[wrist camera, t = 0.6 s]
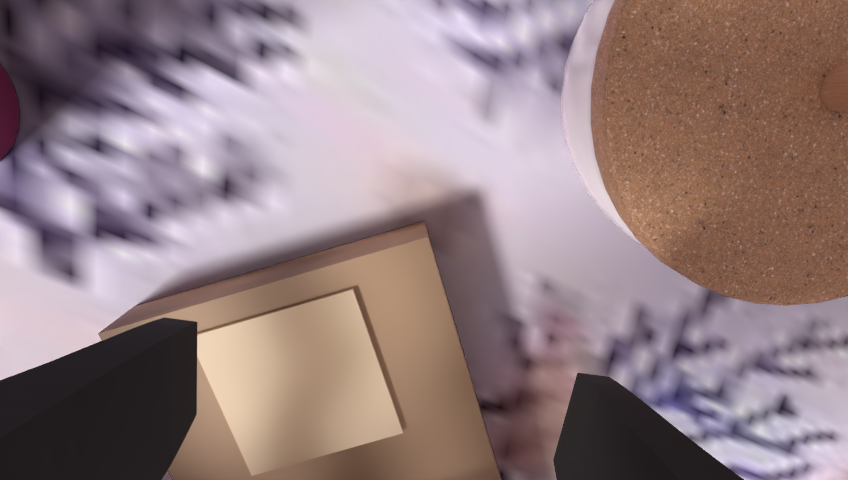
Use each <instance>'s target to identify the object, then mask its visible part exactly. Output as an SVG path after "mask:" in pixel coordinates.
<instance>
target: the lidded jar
mask: <svg viewBox="0 0 848 480" xmlns="http://www.w3.org/2000/svg"><path fill="white" fill-rule="evenodd" d="M561 118H562V125H563V131H564V138H565V143H566V146H567V149H568V152H569V155H570V158H571V161H572V164H573V166H574V168H575V169H576V171H577V173H578V175H579V177H580V179H581V181H582V183H583V185H584V187H585V188H586V190H587V192H588V193H589V194H590V196H591V197H592V198H593V200H594V201H595V202H596V204H597V205H598V206H599V208H600V209H601V210H602V211H603V212H604V213H605V214H606V215H607V216H608V217H609V218H610V219H611V220H612V221H613V222H614V223H615V224H616V225H617V226H618V227H619V228H620V229H621V230H623V231H624V232H625V233H626V234H627V235H628V236H629V237H631V238H632V239H633V240H635V241H636V242H638V243H639V244H641V245H642V246H644V247H645V248H647V249H648V250H649V251H650V252H651V253H652V254H653V255H654V256H655V257H657V258H658V259H659V260H660V261H661V262H663V263H664V264H666V265H667V266H669V267H670V268H672V269H674V270H675V271H677V272H678V273H680V274H681V275H683V276H685V277H686V278H688V279H689V280H691V281H692V282H694V283H696V284H698V285H700V286H702V287H705V288H707V289H710V290H712V291H714V292H717V293H719V294H722V295H724V296H726V297H731V298H735V299H740V300H744V301H748V302H753V303H760V304H775V305H796V304H808V303H819V302H823V301H827V300H832V299H836V298H840V297H845V296H848V0H594V1H593V2H592V4H591V5H590V7H589V9H588V11H587V12H586V14H585V16H584V18H583V20H582V22H581V24H580V27H579V29H578V31H577V33H576V35H575V37H574V40H573V42H572V45H571V49H570V52H569V55H568V59H567V62H566V65H565V71H564V77H563V84H562V91H561Z"/></svg>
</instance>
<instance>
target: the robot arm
mask: <svg viewBox="0 0 848 480" xmlns="http://www.w3.org/2000/svg"><path fill="white" fill-rule="evenodd" d="M196 415H197V322H195V321H188V320H180V319H173V318H165V317H164V318H161V319H157V320H154V321H151V322H148V323H146V324H143V325H140V326H138V327H135V328H132V329H130V330H127V331H125V332H122V333H120V334H117V335H115V336H113V337H110V338H108V339H105V340H103V341H100V342H98V343H96V344H93V345H91V346H88V347H86V348H83V349H81V350H78V351H76V352H73V353H71V354H68V355H66V356H64V357H61V358H59V359H56V360H54V361H51V362H49V363H46V364H43V365H41V366H38V367H35V368H33V369H30V370H27V371H25V372H22V373H19V374H16V375H14V376H11V377H8V378H6V379H3V380H0V480H161V479H162V478H163V476H164V475H165V473H166V472H167V470H168V469H169V467H170V466H171V464H172V462H173V460H174V458H175V456H176V455H177V453H178V451H179V449H180V447H181V445H182V443H183V441H184V439H185V437H186V435H187V433H188V431H189V429H190V427H191V425H192V423H193V421H194V419H195V417H196ZM554 466H555V472H556V478H557V480H744V479H742V478H741V477H739V476H738V475H737V474H735V473H734V472H732V471H731V470H730V469H728V468H727V467H726V466H724V465H723V464H722V463H720V462H719V461H718V460H716V459H715V458H714V457H712V456H711V455H710V454H709V453H707V452H706V451H705V450H703V449H702V448H701V447H699V446H698V445H697V444H696V443H694V442H693V441H692V440H691V439H689V438H688V437H687V436H685V435H684V434H683V433H682V432H680V431H679V430H678V429H677V428H675V427H674V426H673V425H672V424H670V423H669V422H668V421H667V420H665V419H664V418H663V417H662V416H660V415H659V414H658V413H657V412H655V411H654V410H653V409H652V408H650V407H649V406H648V405H647V404H645V403H644V402H643V401H641V400H640V399H639V398H638V397H636V396H635V395H634V394H632V393H631V392H630V391H629V390H627V389H626V388H625V387H623V386H622V385H620V384H619V383H618V382H616V381H614V380H613V379H611V378H610V377H605V376H598V375H590V374H583V373H577V377H576V381H575V384H574V388H573V391H572V395H571V399H570V402H569V406H568V410H567V413H566V417H565V420H564V424H563V428H562V431H561V435H560V438H559V442H558V446H557V449H556V453H555V456H554Z"/></svg>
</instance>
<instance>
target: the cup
mask: <svg viewBox="0 0 848 480" xmlns="http://www.w3.org/2000/svg"><path fill="white" fill-rule="evenodd" d="M19 121H20V112H19V103H18V99H17V96H16V92H15V89H14V87H13V85H12V83H11V81H10V79H9V77H8V75H7V73H6V72H5V70H4V69H3V68H2V66H1V65H0V160H1V159H2V158H3V157H4V156H5V155H6V154H7V153H8V152H9V150H10V149H11V147H12V145H13V144H14V142H15V139H16V136H17V133H18V130H19Z"/></svg>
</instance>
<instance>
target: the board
mask: <svg viewBox="0 0 848 480" xmlns="http://www.w3.org/2000/svg"><path fill="white" fill-rule="evenodd" d="M164 317H165V318H173V319H180V320H188V321H195V322H197V415H196V417H195V419H194V421H193V423H192V425H191V427H190V429H189V431H188V433H187V435H186V437H185V439H184V441H183V443H182V445H181V447H180V449H179V451H178V453H177V455H176V456H175V458H174V460H173V462H172V464H171V466H170V467H169V469H168V472H169V474H170V476H171V478H172V480H502V479H501V476H500V473H499V469H498V466H497V463H496V459H495V456H494V453H493V449H492V446H491V443H490V439H489V436H488V433H487V429H486V426H485V422H484V419H483V416H482V412H481V409H480V406H479V402H478V399H477V396H476V392H475V389H474V386H473V382H472V379H471V376H470V372H469V369H468V365H467V362H466V359H465V355H464V352H463V349H462V345H461V342H460V339H459V335H458V332H457V329H456V325H455V322H454V319H453V315H452V312H451V308H450V305H449V302H448V298H447V295H446V292H445V288H444V285H443V282H442V278H441V275H440V272H439V268H438V265H437V262H436V258H435V255H434V251H433V248H432V245H431V241H430V238H429V235H428V231H427V228H426V225H425V221H423V222H419V223H416V224H412V225H409V226H406V227H402V228H399V229H395V230H392V231H389V232H385V233H382V234H378V235H375V236H372V237H368V238H365V239H361V240H358V241H355V242H351V243H348V244H344V245H341V246H338V247H334V248H331V249H327V250H324V251H321V252H317V253H314V254H310V255H307V256H304V257H300V258H297V259H293V260H290V261H287V262H283V263H280V264H277V265H273V266H270V267H266V268H263V269H260V270H256V271H253V272H249V273H246V274H243V275H239V276H236V277H232V278H229V279H226V280H222V281H219V282H215V283H212V284H209V285H205V286H202V287H198V288H195V289H192V290H188V291H185V292H181V293H178V294H175V295H171V296H168V297H164V298H161V299H158V300H154V301H151V302H147V303H144V304H141V305H137V306H134V307H133V308H132V309H130V310H129V311H128V312H126V313H125V314H124V315H122V316H121V317H120V318H118V319H117V320H116V321H114V322H113V323H112V324H110V325H109V326H108V327H106V328H105V329H104V330H102V331H101V332H100V333H98V334H99V336H100V338H101V340H102V341H103V340H105V339H108V338H110V337H113V336H115V335H117V334H120V333H122V332H125V331H127V330H130V329H132V328H135V327H138V326H140V325H143V324H146V323H148V322H151V321H154V320H157V319H161V318H164Z"/></svg>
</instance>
